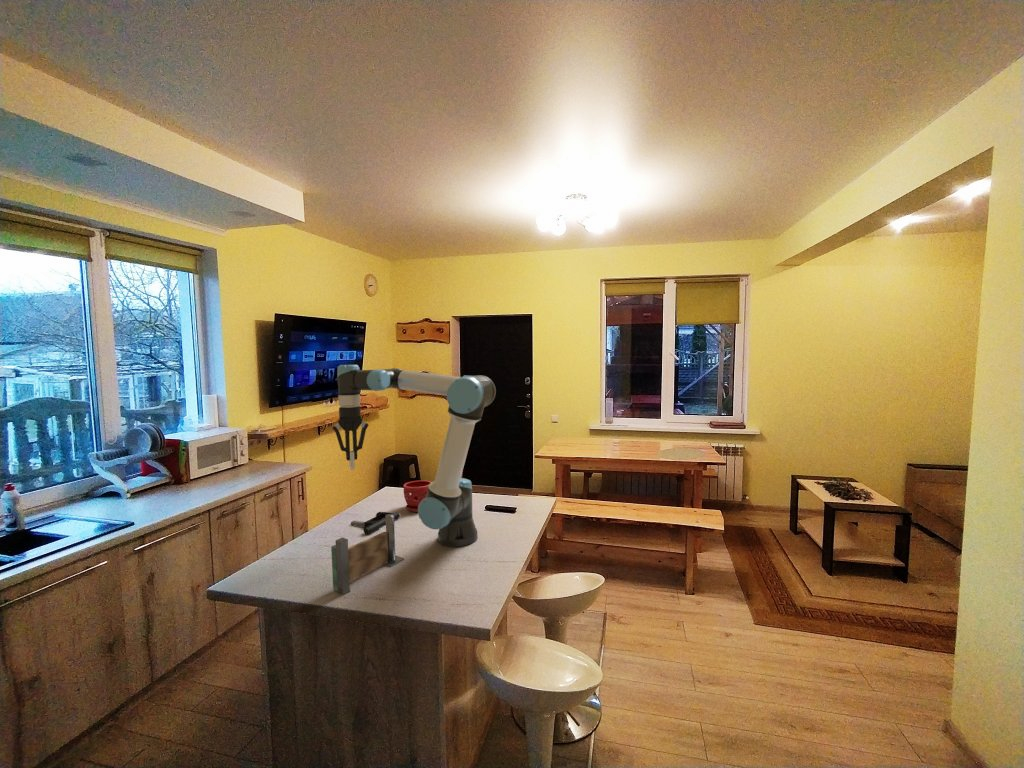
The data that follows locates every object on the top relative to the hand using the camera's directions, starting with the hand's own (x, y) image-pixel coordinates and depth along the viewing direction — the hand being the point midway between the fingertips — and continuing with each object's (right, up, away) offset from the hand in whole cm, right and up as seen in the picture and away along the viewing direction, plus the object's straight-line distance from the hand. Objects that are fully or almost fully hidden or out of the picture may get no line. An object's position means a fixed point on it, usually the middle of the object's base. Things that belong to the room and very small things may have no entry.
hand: (352, 468), depth 162 cm
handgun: (+1, -28, +20) cm, 34 cm away
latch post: (+10, -30, -34) cm, 46 cm away
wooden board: (+12, -29, -25) cm, 40 cm away
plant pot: (+17, -26, +37) cm, 49 cm away
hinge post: (+19, -29, -14) cm, 37 cm away
